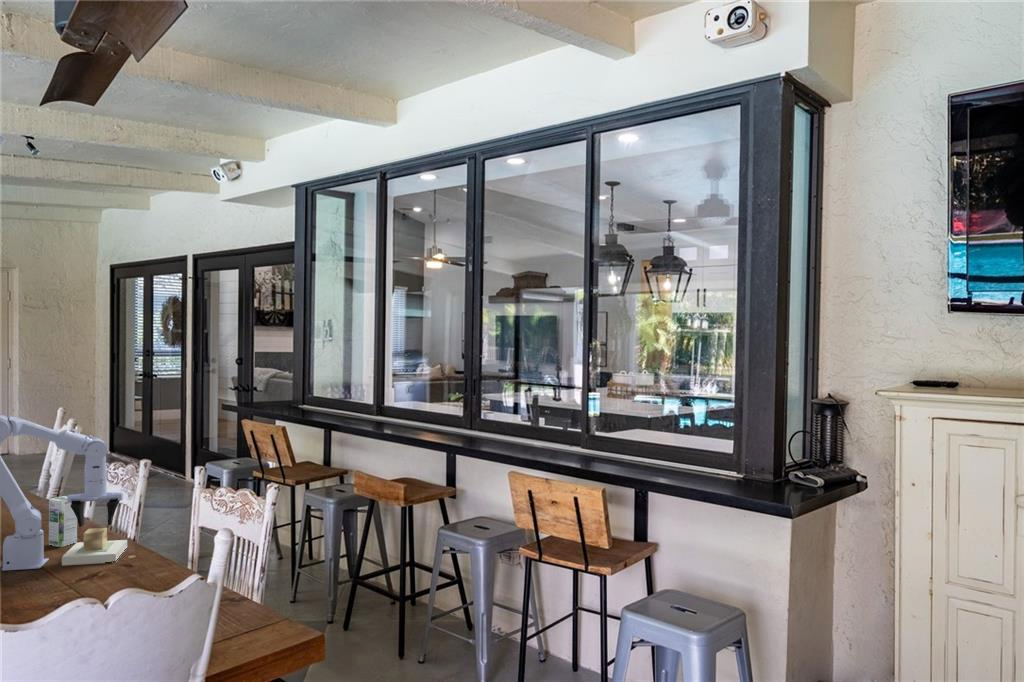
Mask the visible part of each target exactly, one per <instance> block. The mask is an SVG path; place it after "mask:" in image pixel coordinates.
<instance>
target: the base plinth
mask: <svg viewBox="0 0 1024 682" xmlns="http://www.w3.org/2000/svg"><path fill="white" fill-rule="evenodd" d="M126 548H128V539H120V540H119V539H116V540H107V545H106V546H105V547H104V548H103V549H100V550H84V541H82V542H81V541H80V542H78V541H77V543H74V545H73V546H71V547H70V549H69V550H67V551H66V552H65V553H64V554H63V555H62V556H61V566H63V567H64V566H79V565H93V564H96V565H97V564H106V563H105V562H111V561H116V560H117V559H118V558H119V556H120V555H121V554H122V553H123V552H124V553H125V551H126V550H127V549H126ZM125 549H126V550H125ZM124 550H125V551H124ZM124 553H123V554H124ZM123 554H122V555H123ZM122 555H121V556H122ZM121 556H120V557H121ZM119 559H120V558H119ZM119 559H118V560H119ZM118 560H117V561H118ZM117 561H116V562H117Z"/></svg>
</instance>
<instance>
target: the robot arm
mask: <svg viewBox="0 0 1024 682" xmlns="http://www.w3.org/2000/svg"><path fill="white" fill-rule="evenodd" d="M11 433H12V434H11ZM10 434H11V437H17V436H21V435H26V436H30V437H34V438H37V439H42V440H44V441H49V442H52V443H54V444H55V446H56V448H57V449H59V450H62V451H66V452H69V453H72V454H76V455H79V456H81V455H84V456H85V464H84V493H77V494H76V493H75V494H68V495H67V503H71V502H72V503H71V505H70V506H71V508H72V510H73V511H74V513H75V515H76V517H77V525H78V527H79V528H82V527H83V526H84V524H85V523H84V521H85V520H84V519H85V518H84V509H85V502H103V501H108V502H107V503H106V507H107V526H111V525H113V519H114V516H115V512H116V510H117V508H118V506H119V503H120V501H123V500H124V492H109V491H107V476H108V475H107V463H106V462H107V455H108V451H109V450H108V447H107V445H106V442H104V441H103V439H101V438H99V437H93V435H85V434H82V433H79V432H77V430H76V429H74V428H71V429H64V430H62V431H58V430H55V429H52V428H49V427H46V426H43V425H41V424H38V423H36V422H32V421H29V420H28V419H27V420H26V419H23V418H20V417H16V416H7V414H1V413H0V447H1V446H2V443H3V442H4V441H5V440H6V439H7V438H8V436H9V435H10ZM0 497H1V498H2V500H3V502H4V503H5V504H6V507H7V508H8V510H9V512H10V515H11V517H12V519H13V521H14V528H15V529H14V530H15V532H14V533H13V534H12V535H7V536H6V537H5V538H4V540H3V544H2V569H1V571H2V572H3V571H17V570H18V571H19V570H33V569H35V570H36V569H37V570H38V569H40V568H42V567H43V566H44V565H45V564H46V563H47V562H48V561H49V559H50V558H49V557H47V558H44V557H45V555H44V554H45V551H44V549H45V547H44V546H45V545H44V541H45V540H44V539H45V538H44V535H45V534H44V530H43V529H42V525H43V524H42V523H43V522H42V513H41V512H40V510H39V509H37V508H35V507H33V505H32V503H31V502H30V501H29V500H28V498H27V497H26V496H25V494H24V493H23V491H22V489H21V488H20V486H19V484H18V483H17V481H16V479H15V477H14V476H13V474H12V473H11V471H10V469H9V468H8V466H7V464H6V463H5V460H4V459H3V458H2V456H1V455H0Z"/></svg>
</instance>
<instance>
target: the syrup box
mask: <svg viewBox="0 0 1024 682" xmlns="http://www.w3.org/2000/svg"><path fill="white" fill-rule="evenodd" d="M67 496H68V495H67ZM67 496H66V495H63V496H57V497H52V498H50V499H48V546H50V545H52V547H56V548H57V547H58V548H63V547H67V545H68V546H70V544H71V545H73V543H74V544H76V543H77V542H78V520H77V517H76V515H75V513H74V511H73V510H72V508H71V506H70V505H71V503H72V502H71V503H67Z"/></svg>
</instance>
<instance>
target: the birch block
mask: <svg viewBox="0 0 1024 682" xmlns="http://www.w3.org/2000/svg"><path fill="white" fill-rule="evenodd" d="M107 541H108V527H97V528H88V529H87V530H85V531H84V532H83V542H84V550H100V549H103V548H104V547H105V546H106V545H107Z"/></svg>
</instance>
